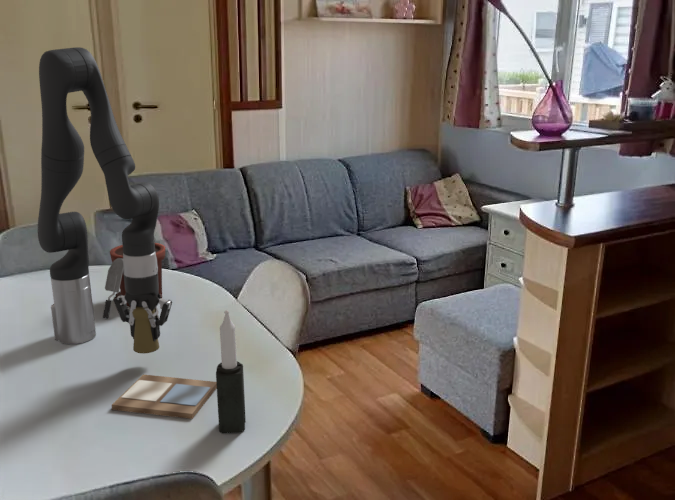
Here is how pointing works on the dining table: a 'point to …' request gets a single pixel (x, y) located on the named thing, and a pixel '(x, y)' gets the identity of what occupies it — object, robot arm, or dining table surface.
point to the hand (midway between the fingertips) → (145, 338)
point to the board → (165, 396)
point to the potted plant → (117, 274)
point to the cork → (143, 332)
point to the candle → (230, 382)
